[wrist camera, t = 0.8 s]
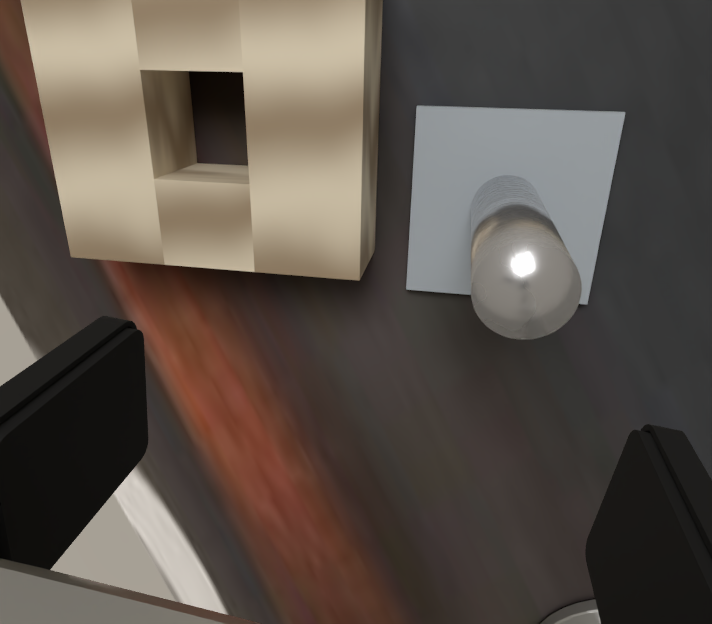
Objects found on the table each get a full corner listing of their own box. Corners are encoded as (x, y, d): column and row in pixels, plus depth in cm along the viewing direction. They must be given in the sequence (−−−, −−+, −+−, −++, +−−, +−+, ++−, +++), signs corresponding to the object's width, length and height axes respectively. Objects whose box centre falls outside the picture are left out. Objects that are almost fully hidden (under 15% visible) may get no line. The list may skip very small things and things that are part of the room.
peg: (535, 244, 30) (571, 344, 20) (467, 240, 31) (466, 334, 20) (545, 176, 29) (590, 243, 18) (474, 173, 29) (476, 236, 19)
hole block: (374, 250, 33) (359, 280, 28) (121, 232, 35) (71, 257, 31) (383, -29, 27) (366, -47, 23) (81, -27, 30) (12, -43, 25)
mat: (585, 300, 32) (587, 304, 31) (407, 285, 33) (406, 289, 33) (622, 111, 28) (625, 112, 27) (417, 105, 29) (416, 106, 29)
